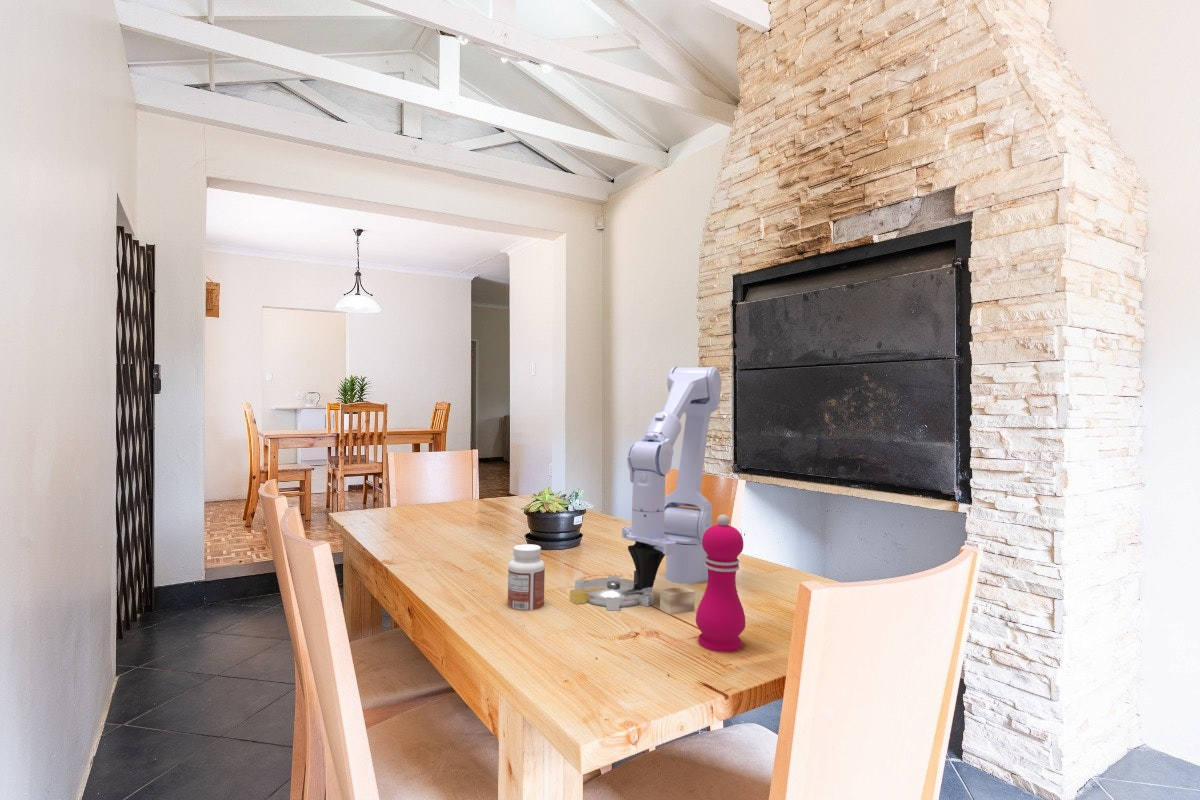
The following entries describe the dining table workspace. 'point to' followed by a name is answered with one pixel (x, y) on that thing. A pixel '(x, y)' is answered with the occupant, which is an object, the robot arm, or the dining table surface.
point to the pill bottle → (526, 578)
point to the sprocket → (611, 592)
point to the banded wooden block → (677, 600)
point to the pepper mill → (721, 589)
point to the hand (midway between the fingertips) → (646, 586)
